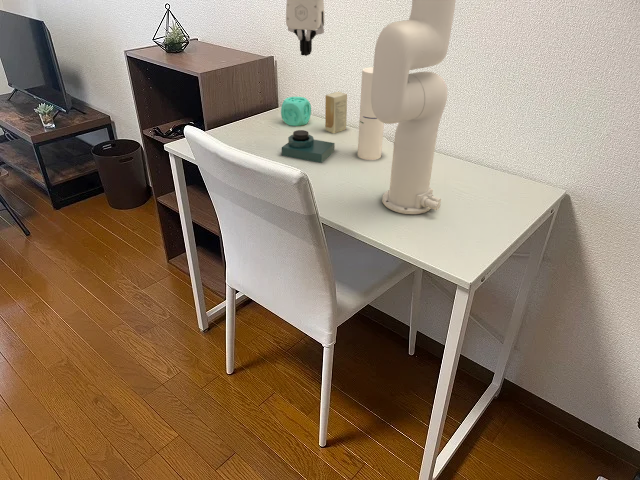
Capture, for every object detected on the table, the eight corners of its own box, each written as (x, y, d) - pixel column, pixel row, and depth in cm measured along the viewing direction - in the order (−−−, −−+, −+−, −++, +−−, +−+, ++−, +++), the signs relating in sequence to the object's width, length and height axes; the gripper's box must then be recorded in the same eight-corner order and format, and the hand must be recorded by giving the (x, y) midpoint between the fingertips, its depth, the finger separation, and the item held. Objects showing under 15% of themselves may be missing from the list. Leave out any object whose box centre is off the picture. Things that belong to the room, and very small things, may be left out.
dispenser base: (334, 151, 151) (334, 137, 148) (321, 163, 143) (321, 148, 140) (296, 144, 155) (296, 130, 152) (281, 155, 147) (281, 141, 145)
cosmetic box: (337, 126, 170) (338, 90, 163) (346, 129, 167) (348, 93, 160) (324, 130, 166) (324, 94, 159) (333, 134, 163) (334, 97, 157)
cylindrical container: (373, 162, 144) (379, 74, 130) (352, 156, 147) (357, 70, 134) (385, 154, 149) (393, 69, 135) (365, 149, 152) (371, 65, 139)
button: (311, 137, 148) (311, 131, 147) (304, 143, 145) (304, 136, 144) (297, 135, 150) (297, 129, 149) (290, 140, 146) (290, 134, 145)
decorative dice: (291, 117, 177) (290, 95, 173) (311, 120, 174) (311, 98, 170) (281, 124, 171) (280, 101, 167) (301, 127, 168) (301, 104, 164)
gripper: (274, -18, 131) (276, 54, 141) (325, -15, 126) (324, 60, 136) (287, -20, 137) (288, 49, 146) (336, -17, 132) (334, 54, 141)
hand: (305, 54), depth 141 cm, fingers closed
